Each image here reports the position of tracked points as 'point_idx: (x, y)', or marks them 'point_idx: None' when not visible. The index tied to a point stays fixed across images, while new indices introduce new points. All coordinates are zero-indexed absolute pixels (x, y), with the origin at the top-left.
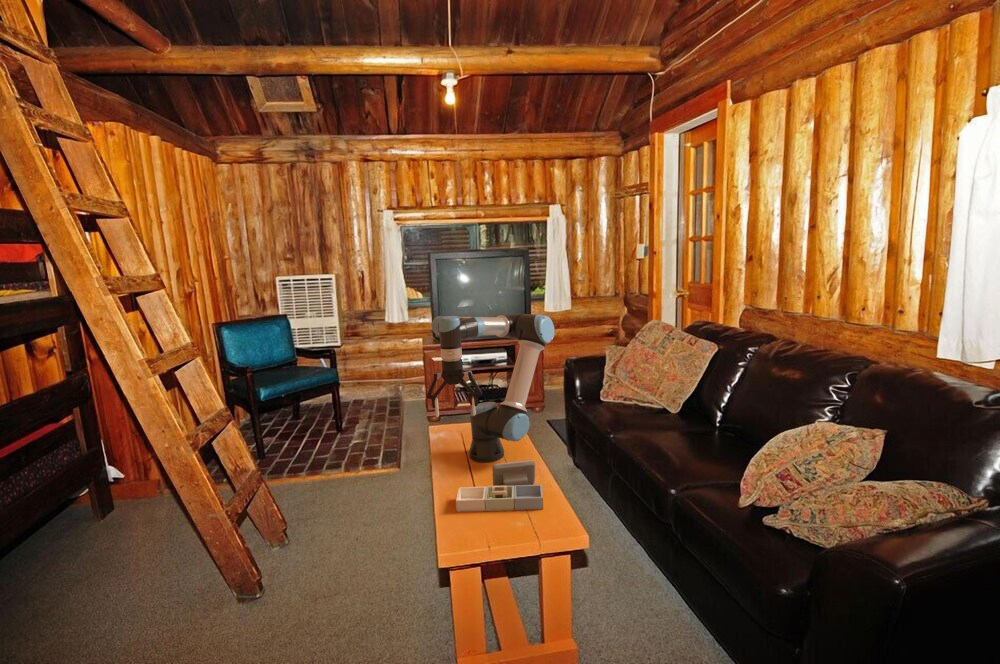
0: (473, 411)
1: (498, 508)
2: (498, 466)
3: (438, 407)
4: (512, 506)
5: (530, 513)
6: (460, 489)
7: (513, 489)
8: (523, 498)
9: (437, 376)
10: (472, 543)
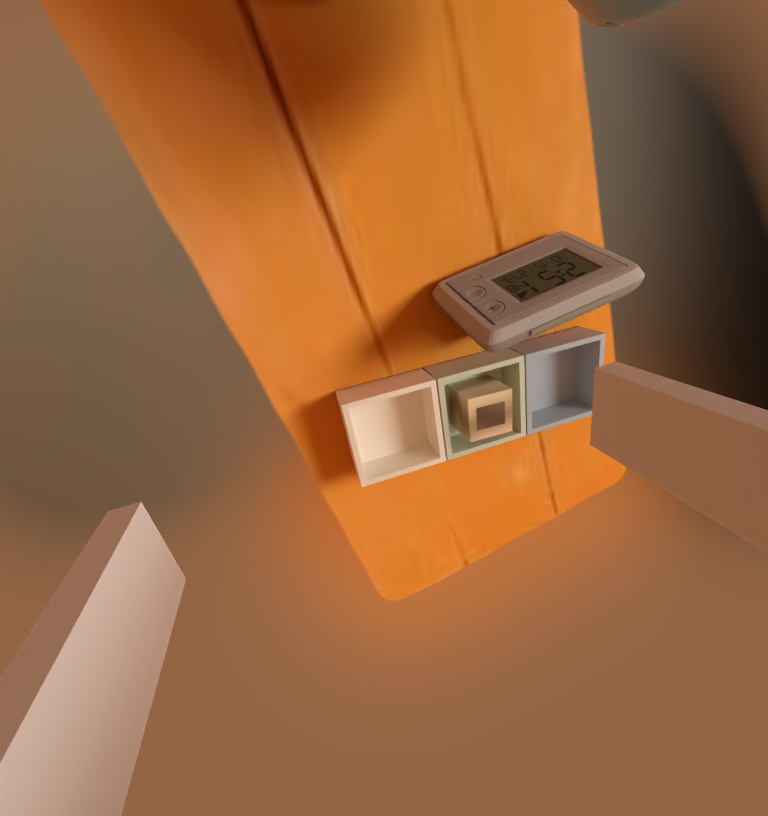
0: (639, 466)
1: None
2: (507, 345)
3: (91, 605)
4: None
5: None
6: (348, 411)
7: (523, 381)
8: (551, 427)
9: None
10: (431, 565)
